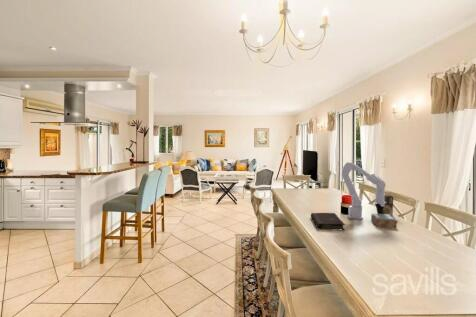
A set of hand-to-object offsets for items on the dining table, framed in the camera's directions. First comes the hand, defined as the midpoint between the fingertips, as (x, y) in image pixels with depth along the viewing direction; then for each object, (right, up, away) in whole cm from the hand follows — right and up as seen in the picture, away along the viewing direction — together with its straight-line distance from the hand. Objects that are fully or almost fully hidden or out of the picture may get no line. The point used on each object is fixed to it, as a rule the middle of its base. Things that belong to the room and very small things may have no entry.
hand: (379, 213), depth 182 cm
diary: (-42, -6, -8) cm, 44 cm away
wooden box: (-3, -6, -9) cm, 11 cm away
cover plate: (-2, -1, -9) cm, 9 cm away
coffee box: (+13, -5, +15) cm, 20 cm away
